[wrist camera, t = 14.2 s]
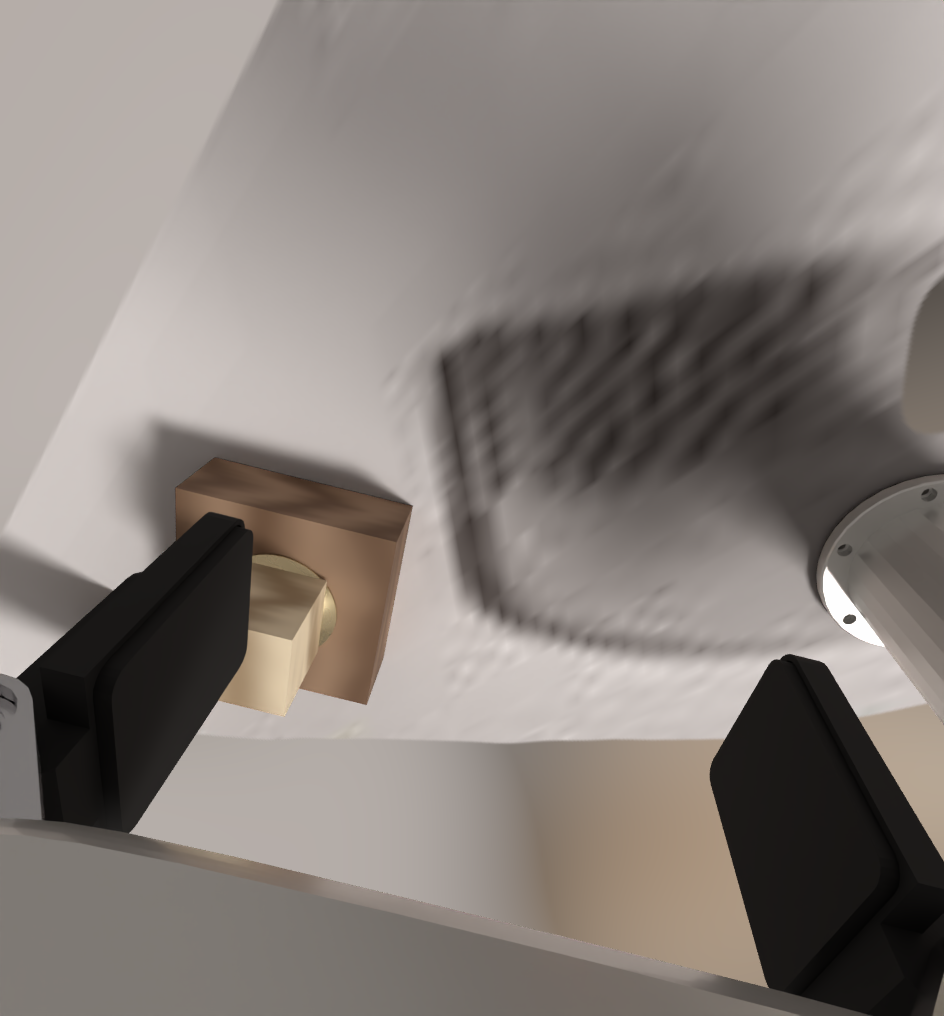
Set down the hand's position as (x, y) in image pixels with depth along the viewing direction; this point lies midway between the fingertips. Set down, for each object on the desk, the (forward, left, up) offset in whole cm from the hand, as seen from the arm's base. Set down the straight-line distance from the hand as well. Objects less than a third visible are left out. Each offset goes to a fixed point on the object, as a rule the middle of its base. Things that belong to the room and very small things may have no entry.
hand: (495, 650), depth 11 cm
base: (+12, +20, -28) cm, 37 cm away
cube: (+12, +20, -23) cm, 33 cm away
